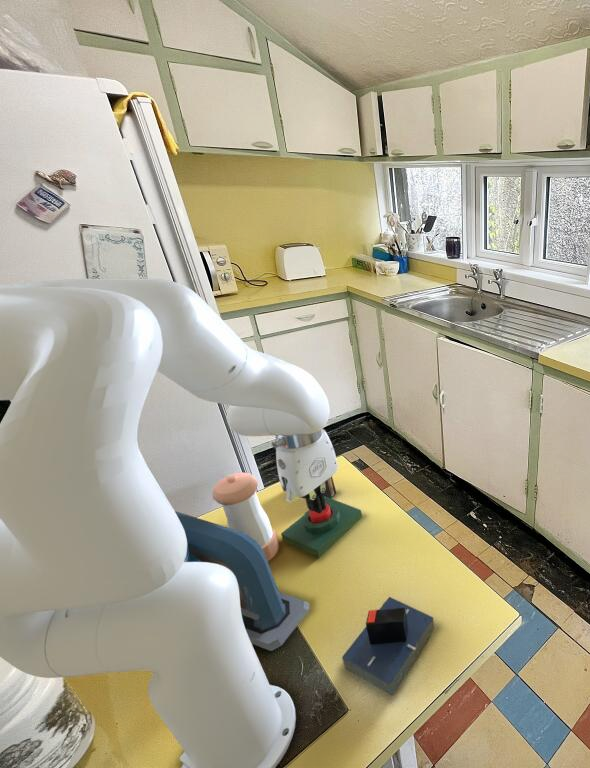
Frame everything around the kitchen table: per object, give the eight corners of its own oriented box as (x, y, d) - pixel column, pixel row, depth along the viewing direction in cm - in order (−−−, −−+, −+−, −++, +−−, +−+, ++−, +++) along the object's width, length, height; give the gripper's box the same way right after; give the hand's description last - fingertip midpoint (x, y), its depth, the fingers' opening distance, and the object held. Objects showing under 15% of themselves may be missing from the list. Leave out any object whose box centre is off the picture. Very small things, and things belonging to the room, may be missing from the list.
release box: (319, 558, 81) (315, 543, 79) (283, 541, 84) (278, 527, 83) (362, 517, 91) (359, 503, 89) (328, 503, 94) (324, 490, 93)
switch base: (394, 697, 60) (392, 685, 58) (343, 667, 63) (339, 655, 62) (436, 629, 69) (435, 617, 67) (389, 606, 72) (387, 595, 71)
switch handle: (408, 627, 66) (405, 606, 63) (406, 641, 64) (403, 620, 61) (373, 630, 65) (368, 609, 63) (370, 644, 63) (365, 623, 61)
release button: (320, 526, 84) (318, 519, 83) (306, 519, 85) (304, 513, 84) (335, 513, 87) (334, 506, 86) (321, 507, 88) (319, 501, 88)
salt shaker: (231, 570, 78) (199, 493, 69) (244, 541, 84) (216, 466, 76) (273, 564, 80) (246, 487, 71) (283, 535, 86) (260, 461, 77)
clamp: (314, 604, 72) (286, 513, 63) (275, 653, 65) (236, 559, 55) (168, 553, 81) (124, 467, 72) (118, 591, 74) (62, 501, 64)
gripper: (278, 460, 69) (300, 540, 77) (344, 419, 81) (358, 492, 89) (248, 449, 72) (272, 528, 80) (316, 411, 84) (331, 482, 92)
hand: (317, 508), depth 84 cm, fingers closed
